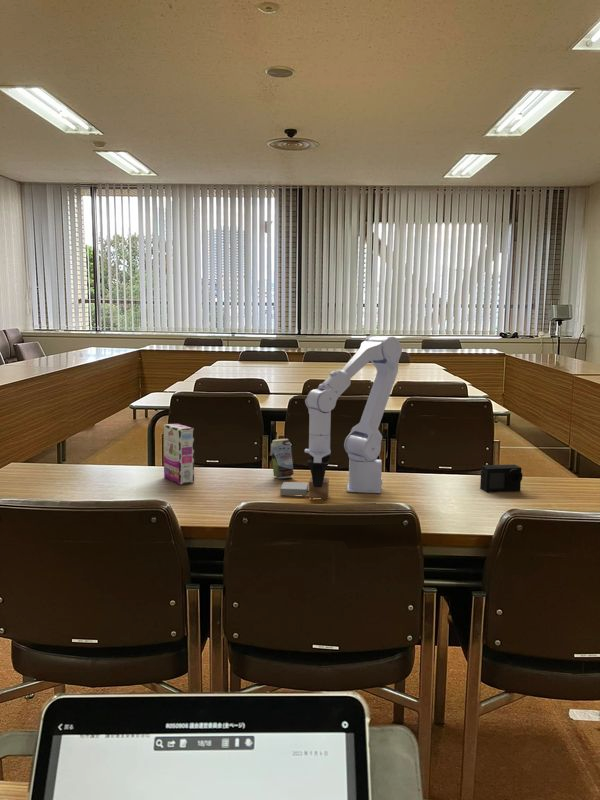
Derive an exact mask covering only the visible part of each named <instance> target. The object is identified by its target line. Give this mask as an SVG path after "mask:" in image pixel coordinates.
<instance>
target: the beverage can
mask: <svg viewBox="0 0 600 800" xmlns="http://www.w3.org/2000/svg"><path fill="white" fill-rule="evenodd" d="M270 449H271V450H270V451H271V452H270V453H271V460H272V471H273V472H272V473H273V477H275V478H276V479H288V478H291V477H292V476H293V475H294V473H295V472H294V464H293V453H292V445H291V442H290V441H289V439H288V438H279V439H273V440H272V442H271V444H270Z"/></svg>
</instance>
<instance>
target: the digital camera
mask: <svg viewBox="0 0 600 800" xmlns="http://www.w3.org/2000/svg"><path fill="white" fill-rule="evenodd" d="M522 469H523V468H522V467H521V466H519V465H517V464H491V465H490V464H488V465H487V464H486V465H484V464H483V465H480V483H479V485H480V486H479V488H480V490H482V491H484V492H485V493H506V492H508V493H509V492H521V486H522V485H521V484H522V480H523V473H522Z"/></svg>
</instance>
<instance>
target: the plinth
mask: <svg viewBox="0 0 600 800" xmlns="http://www.w3.org/2000/svg"><path fill="white" fill-rule="evenodd" d="M307 491H308V492H309V482H297V481H296V482H293V481H289V482H288V481H283V483H282V485H281V488H280V496H281V495H302V496H301V497H303V496H306V497H307V495H306V494H308V492H307Z"/></svg>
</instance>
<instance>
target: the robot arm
mask: <svg viewBox="0 0 600 800" xmlns="http://www.w3.org/2000/svg"><path fill="white" fill-rule="evenodd" d="M402 353H403V348H402V345H401V343H400V341H399V339H398V338H397V337H395V336H380V335H379V336H376V335H369V336H367V337H366V338H365V339H364V340H363V341H362V342H361V343H360V347H359V349H358V350H357V351H356V352H355V353H354V354H353V356H351V358H350V359H349V360H348V361H347V362H346V364H345V365H344V366H343V368H342V369H335V370H331V372H330V373H329V376H328V377H327V378H325V380H324V381H323V382H322V383H319V385H318V387H317V388H315V389H312V390H310V391H309V392H308V394H307V395H306V398H305V399H304V403H305V404H304V405H305V406H306V408H307V409H308V414H309V420H308V421H309V422H308V423H309V425H308V435H309V436H308V448H305V449H304V450H303V451H304V453H306V454H309V456H310V459H307V462H306V463H307V466H308V468H309V471H310V474H311V477H312V480H313V485H314V487H322V484H323V479H324V478H325V477H326V469H327V468H328V466H329V464H330V462H329V459H330V458H331V455H332V453H331V452H332V450H331V421H332V418H331V417H332V415H331V414H332V410H334V409H335V407H336V405H337V401H338V399H339V397H340V396H341V395H342V394H343V393H344V392H345V391H346V390H347V389H348V388H349V387H350V386H351V378H353V377H354V376H355V375H356V374H358V372H359V371H360V370H362V369H363V367H366V365H367V364H369V363H370V362H371V364H373V366H374V367H375V369H376V375H375V378H374V381H373V383H372V387H371V389H370V392H369V395H368V398H367V400H366V404H365V406H364V410H363V412H362V415H361V418H360V421H359V423H357V424H356V425H354V426H353V427H352V428H351V429H350V432H349V434H348V435H347V436H346V437H345V439H344V443H343V448H344V450H345V452H346V453H347V457H348V459H349V461H348V464H349V465H348V483H347V489H346V492H347V493H370V494H381V493H382V486H383V478H382V475H383V474H382V470H383V469H382V467H383V463H382V462H383V461H382V459H378V457H379V456H380V453H381V449H382V440H383V435H382V433H381V431H380V430H379V427H380V424H381V421H382V419H383V417H384V412H385V410H386V407H387V404H388V401H389V399H390V395H391V393H392V389H393V387H394V383H395V381H396V378H397V375H398V373H399V362H400V361H399V360H401V359H400V358H401V355H402Z"/></svg>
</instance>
